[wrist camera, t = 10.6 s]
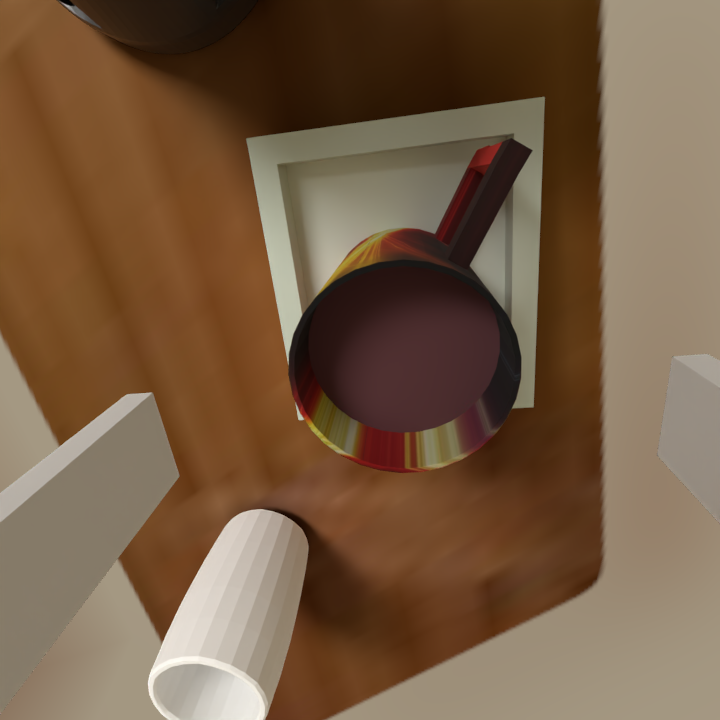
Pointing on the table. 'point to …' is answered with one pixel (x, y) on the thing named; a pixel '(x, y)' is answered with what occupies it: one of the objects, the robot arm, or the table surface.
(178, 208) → the table surface
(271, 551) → the cup
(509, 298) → the tray
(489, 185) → the mug
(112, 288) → the table surface
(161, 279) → the table surface
